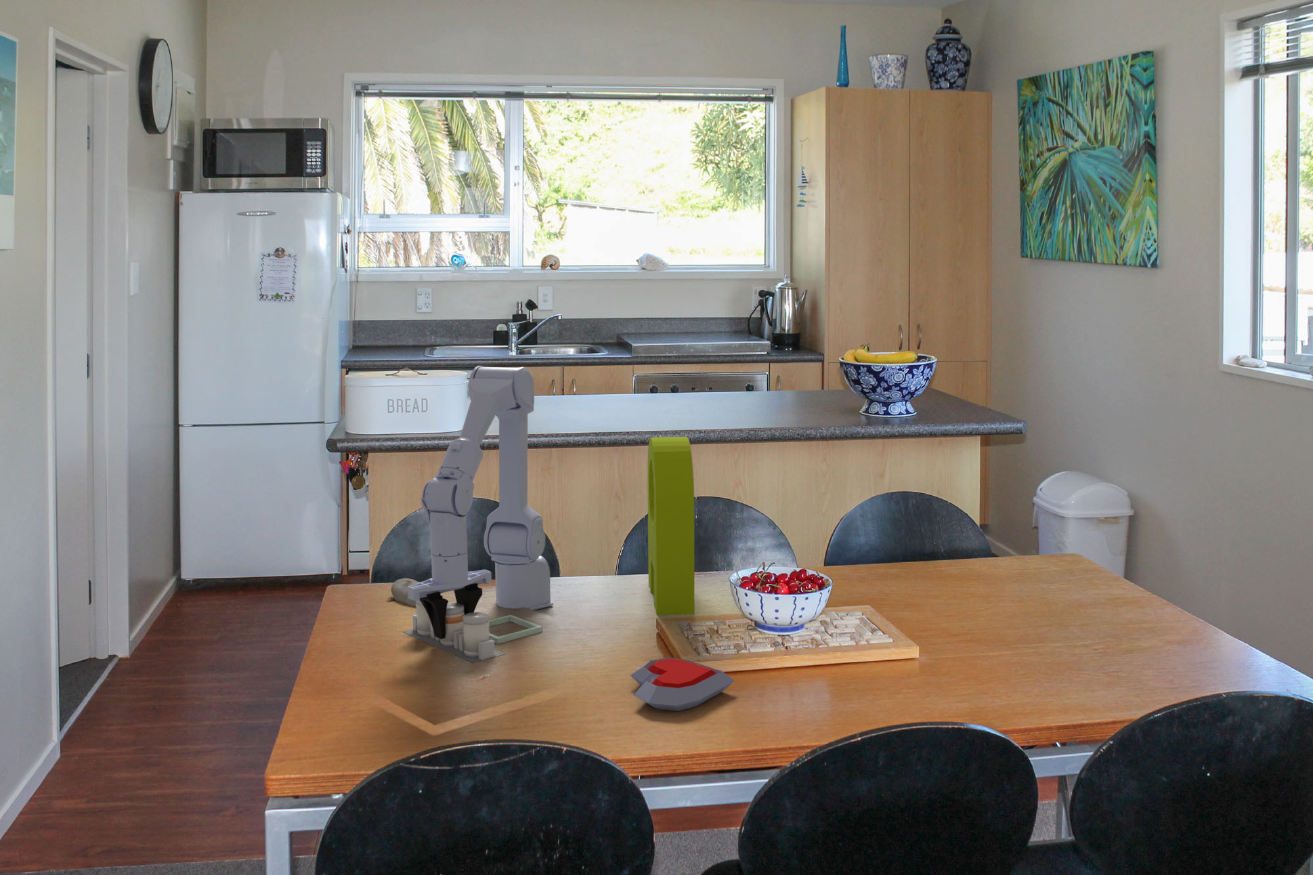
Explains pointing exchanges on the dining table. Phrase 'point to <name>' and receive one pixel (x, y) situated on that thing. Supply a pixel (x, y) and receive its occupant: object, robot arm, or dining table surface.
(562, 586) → the dining table surface
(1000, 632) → the dining table surface
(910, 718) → the dining table surface
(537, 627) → the tray
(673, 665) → the sculpture
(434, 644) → the fuse holder
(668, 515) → the decorative object
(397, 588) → the decorative stone
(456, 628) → the cylinder
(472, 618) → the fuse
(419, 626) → the fuse
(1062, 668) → the dining table surface
